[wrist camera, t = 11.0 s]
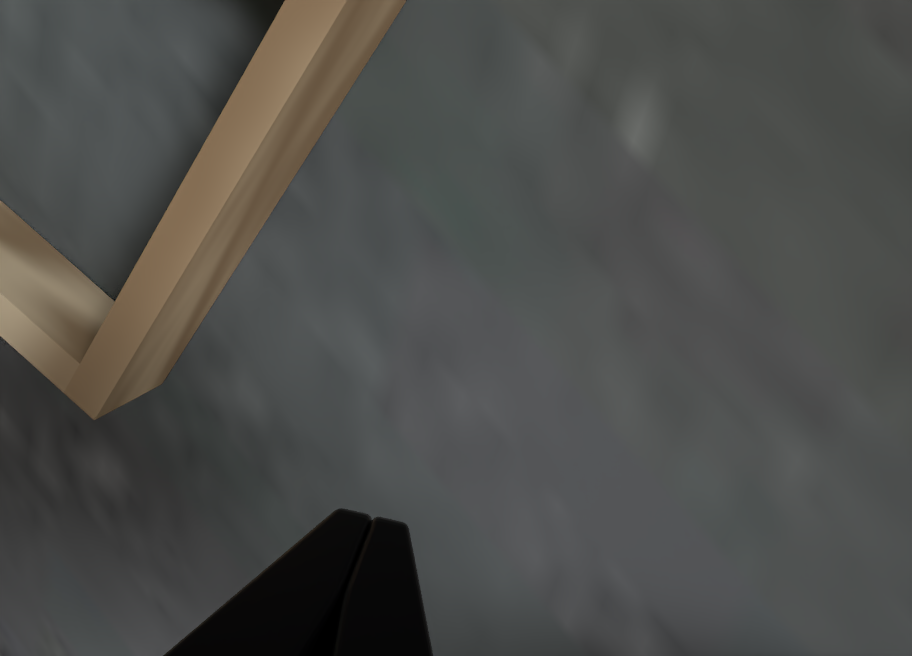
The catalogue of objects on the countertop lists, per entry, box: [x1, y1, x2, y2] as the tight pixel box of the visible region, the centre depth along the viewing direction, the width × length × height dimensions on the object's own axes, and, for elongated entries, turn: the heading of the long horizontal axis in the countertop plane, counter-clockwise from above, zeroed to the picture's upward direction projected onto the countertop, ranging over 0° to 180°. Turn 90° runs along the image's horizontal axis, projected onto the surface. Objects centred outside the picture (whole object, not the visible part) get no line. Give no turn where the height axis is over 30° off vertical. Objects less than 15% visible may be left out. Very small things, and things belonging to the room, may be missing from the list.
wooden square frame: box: [0, 0, 407, 420], centre depth 21 cm, size 14×14×3 cm
